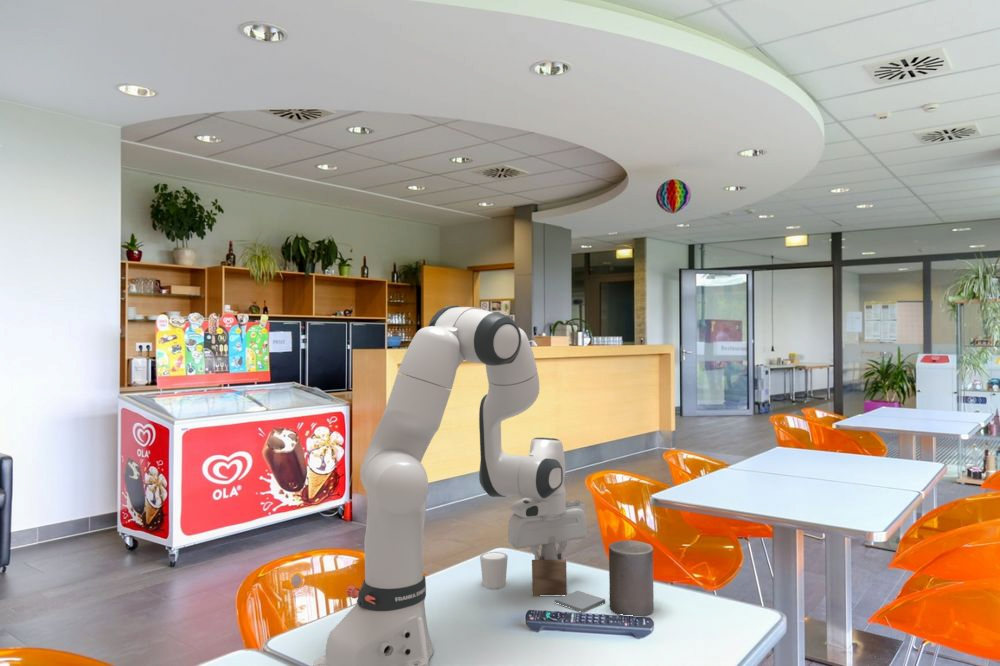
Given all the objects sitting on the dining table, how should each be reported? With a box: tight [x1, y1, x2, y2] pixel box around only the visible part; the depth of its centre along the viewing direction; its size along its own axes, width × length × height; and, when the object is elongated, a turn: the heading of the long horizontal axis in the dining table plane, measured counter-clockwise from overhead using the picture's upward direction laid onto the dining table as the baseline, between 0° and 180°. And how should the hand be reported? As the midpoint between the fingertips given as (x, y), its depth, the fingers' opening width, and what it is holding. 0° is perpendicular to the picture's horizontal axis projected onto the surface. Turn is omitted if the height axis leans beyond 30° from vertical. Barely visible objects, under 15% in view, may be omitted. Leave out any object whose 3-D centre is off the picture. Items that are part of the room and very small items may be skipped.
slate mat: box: [554, 590, 606, 613], centre depth 154 cm, size 8×8×1 cm
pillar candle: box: [608, 539, 655, 617], centre depth 150 cm, size 10×10×15 cm
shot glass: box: [479, 551, 508, 590], centre depth 167 cm, size 7×7×7 cm
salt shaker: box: [540, 536, 558, 560], centre depth 165 cm, size 6×6×13 cm
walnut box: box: [531, 559, 568, 597], centre depth 159 cm, size 8×2×8 cm, turn 87°
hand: (548, 561), depth 165 cm, fingers open, 4 cm apart
